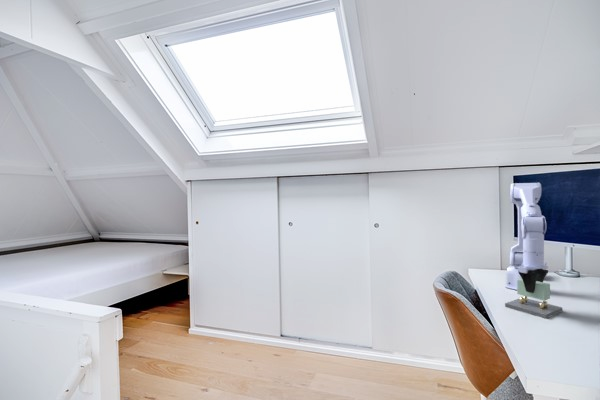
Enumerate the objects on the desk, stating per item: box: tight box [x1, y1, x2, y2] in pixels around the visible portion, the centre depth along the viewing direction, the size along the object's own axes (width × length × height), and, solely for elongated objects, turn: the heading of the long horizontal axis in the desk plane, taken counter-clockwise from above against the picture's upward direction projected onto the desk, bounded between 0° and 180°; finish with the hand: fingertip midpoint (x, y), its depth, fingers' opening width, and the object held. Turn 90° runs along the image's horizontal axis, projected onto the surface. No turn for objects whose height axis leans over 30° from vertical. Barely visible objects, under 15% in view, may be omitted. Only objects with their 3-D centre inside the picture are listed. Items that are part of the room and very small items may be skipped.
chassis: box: [504, 295, 563, 319], centre depth 106 cm, size 12×12×3 cm
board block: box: [516, 279, 551, 302], centre depth 106 cm, size 8×4×5 cm, turn 30°
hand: (533, 290), depth 106 cm, fingers open, 4 cm apart
